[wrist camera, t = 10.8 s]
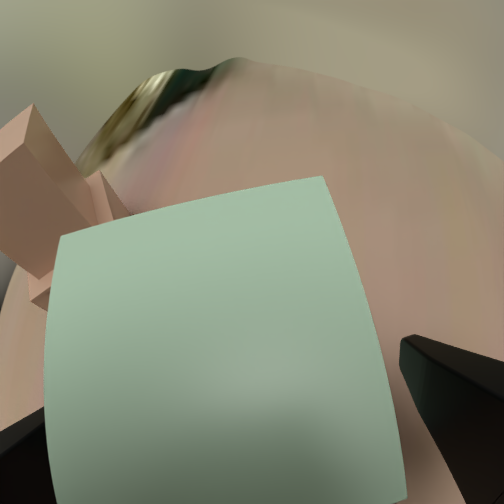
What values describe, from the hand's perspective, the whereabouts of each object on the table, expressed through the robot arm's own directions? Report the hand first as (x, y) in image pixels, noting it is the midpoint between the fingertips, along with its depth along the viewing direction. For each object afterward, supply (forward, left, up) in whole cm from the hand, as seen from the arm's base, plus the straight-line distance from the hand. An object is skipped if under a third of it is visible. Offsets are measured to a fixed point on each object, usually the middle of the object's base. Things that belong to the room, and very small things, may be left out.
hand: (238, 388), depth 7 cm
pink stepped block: (+14, -4, -9) cm, 17 cm away
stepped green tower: (0, 0, -8) cm, 8 cm away
